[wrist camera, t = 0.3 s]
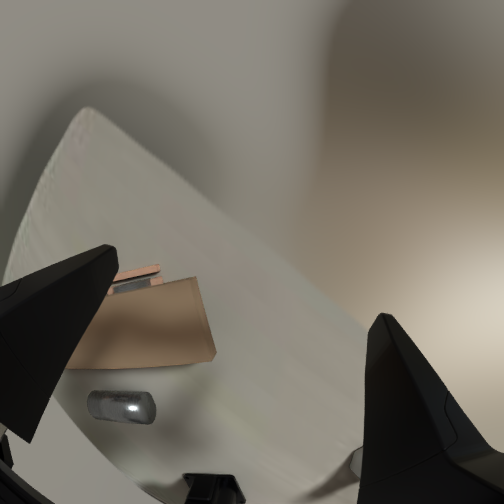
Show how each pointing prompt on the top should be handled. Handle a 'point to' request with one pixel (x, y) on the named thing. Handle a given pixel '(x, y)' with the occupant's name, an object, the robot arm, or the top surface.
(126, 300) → the walnut board
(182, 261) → the top surface
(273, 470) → the top surface
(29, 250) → the top surface
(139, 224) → the top surface
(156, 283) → the roller track
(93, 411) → the roller
